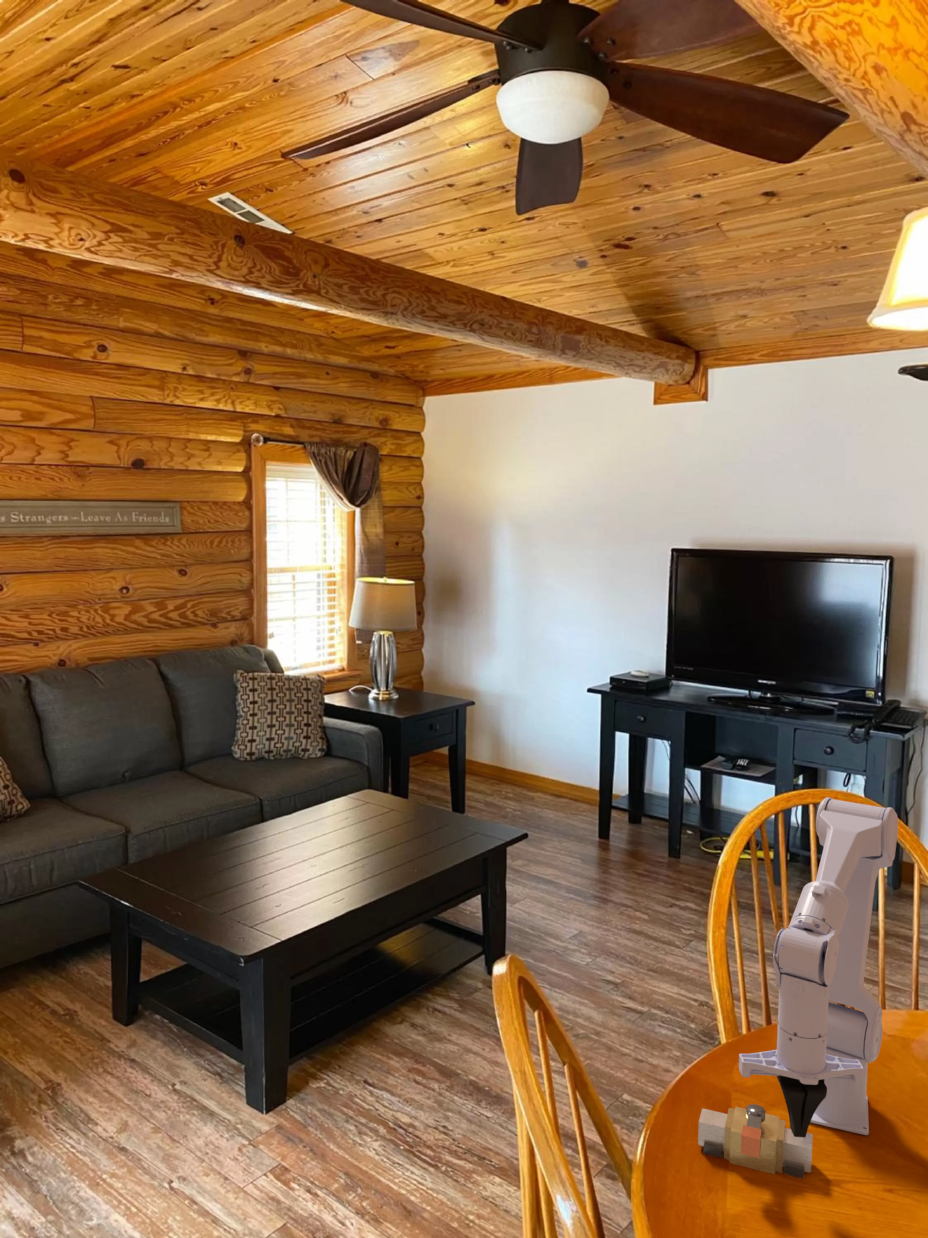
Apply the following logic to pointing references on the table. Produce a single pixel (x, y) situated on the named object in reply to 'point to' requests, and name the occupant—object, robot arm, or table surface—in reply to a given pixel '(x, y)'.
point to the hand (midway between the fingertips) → (797, 1132)
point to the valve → (775, 1142)
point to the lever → (752, 1131)
